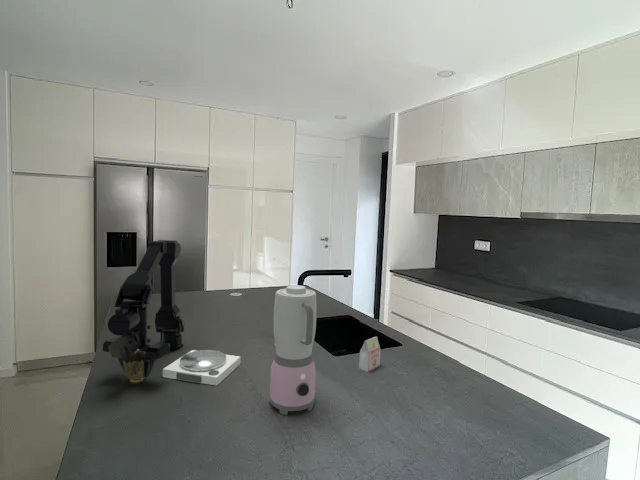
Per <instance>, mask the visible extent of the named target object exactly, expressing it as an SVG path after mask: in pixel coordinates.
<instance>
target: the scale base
mask: <svg viewBox="0 0 640 480" xmlns="http://www.w3.org/2000/svg"><path fill="white" fill-rule="evenodd" d="M194 351H197V350H196V349H191V350H190V351H188V352H187V353H185V354H184V355H186V354H188V353H191V352H194ZM184 355H181V356H180V357H179V358H178V359H176V360H174V361H172V363H170V364H168V365H167V366H165V367H164V368H163V369H162V378H166V379H172V380H179V381H186V382H191V383H197V384H203V385H211V386H218V385H219V384H220V383H222V382H223V380H225V379H226V378H227V377H228V376H229V375H230V374H232V372H233V371H235V369H237V368H238V367H240V365H241V359H242V358H241V357H242V356H241V355H240V356H239V355H232V354H225V355H226V362H225V363H224V364H223V365H222V366H220V367H218V368H215V369H212V370H206V371H191V370H187V369H184V368H182V367H181V366H180V359H181V358H182V357H183V356H184Z"/></svg>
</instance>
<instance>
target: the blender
mask: <svg viewBox="0 0 640 480" xmlns="http://www.w3.org/2000/svg"><path fill="white" fill-rule="evenodd" d="M317 309H318V308H317V293H316V292H315V290H313V289H309V288H307V287H306V286H304V285H299V284H298V285H297V284H294V285H287V286H286V287H285V288H281V289H278V290H276V292H275V294H274V305H273V337H274V344H275V346H274V347H275V356H274V359H273V360H272V363H271V366H270V378H269V379H270V380H269V381H270V382H269V384H270V385H269V388H270V389H269V403H270V405H271V406H273V407H274V408H276V409H278V410H279V414H281V415H284V416H288V414H289V412H297V411H298V412H299V411H304V410H306V411H308V412H310V411H312V409H313V407H314V404H315V401H316V400H315V399H316V395H315V393H316V392H315V391H316V364H315V360H314V359H313V356H312V355H313V354H312V353H313V351H312V350H313V347H314V342H315V337H316V330H317V311H318V310H317Z"/></svg>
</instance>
